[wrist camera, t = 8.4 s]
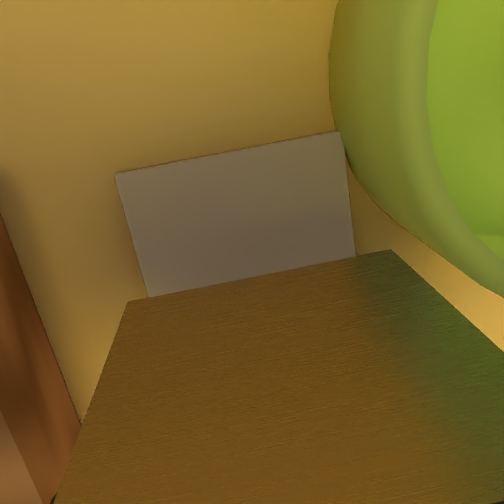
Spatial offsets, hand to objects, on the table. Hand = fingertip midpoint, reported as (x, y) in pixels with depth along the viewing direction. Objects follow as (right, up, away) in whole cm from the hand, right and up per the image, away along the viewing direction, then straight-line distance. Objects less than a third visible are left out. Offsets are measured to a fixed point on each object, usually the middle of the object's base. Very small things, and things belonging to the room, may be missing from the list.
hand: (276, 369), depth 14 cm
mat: (-1, +2, +5) cm, 6 cm away
